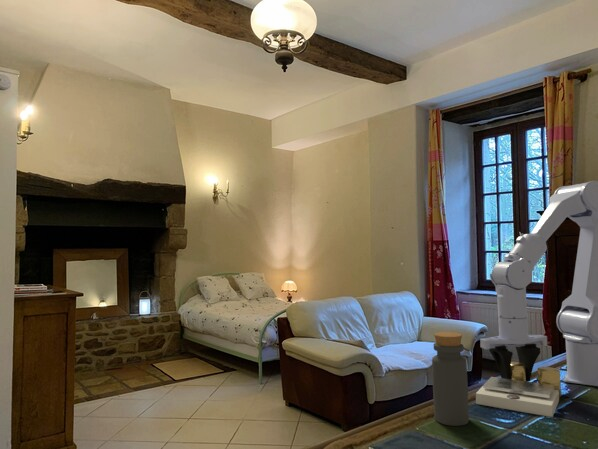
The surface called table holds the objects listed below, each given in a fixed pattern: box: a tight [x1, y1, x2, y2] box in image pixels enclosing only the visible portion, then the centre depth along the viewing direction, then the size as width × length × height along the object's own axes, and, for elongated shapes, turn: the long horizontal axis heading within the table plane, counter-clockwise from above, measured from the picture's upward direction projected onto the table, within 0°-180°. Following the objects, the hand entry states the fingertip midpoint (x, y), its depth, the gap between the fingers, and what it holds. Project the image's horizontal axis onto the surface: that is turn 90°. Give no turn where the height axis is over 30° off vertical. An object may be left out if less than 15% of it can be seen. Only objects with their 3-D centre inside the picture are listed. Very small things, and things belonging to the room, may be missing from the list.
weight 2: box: [537, 366, 562, 398], centre depth 92 cm, size 4×4×5 cm
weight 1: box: [510, 361, 527, 382], centre depth 96 cm, size 4×4×5 cm
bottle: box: [431, 331, 470, 427], centre depth 80 cm, size 6×6×15 cm
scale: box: [475, 385, 560, 418], centre depth 88 cm, size 10×13×2 cm
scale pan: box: [482, 376, 554, 398], centre depth 89 cm, size 7×12×1 cm, turn 54°
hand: (515, 380), depth 96 cm, fingers closed on weight 1, 4 cm apart
